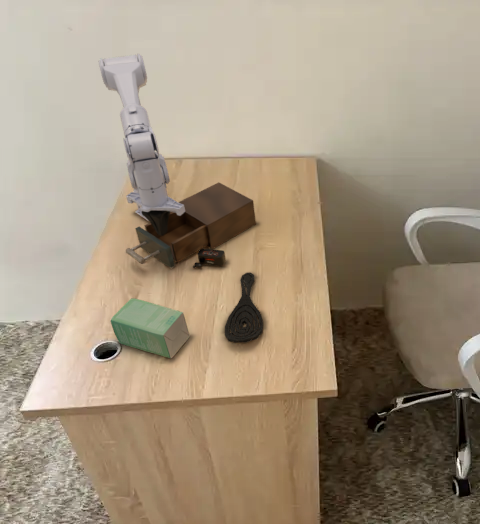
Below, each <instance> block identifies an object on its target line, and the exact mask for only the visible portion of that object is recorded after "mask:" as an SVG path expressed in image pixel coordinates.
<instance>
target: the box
mask: <svg viewBox="0 0 480 524" xmlns="http://www.w3.org/2000/svg"><path fill="white" fill-rule="evenodd" d="M110 325H111V327H112V330H113V333H114V335H115V338H116V340H117V341H118V343H119V344H121V345H124V346H127V347H131V348H133V349H137V350H141V351H145V352H147V353H151V354H154V355H158V356H161V357H164V358H168V359H173V358H174V357H175V356H176V354H177V353H178V352H179V351H180V350H181V348H182V347H183V346H184V345H185V343H186V342H187V341H188V339H190V332H189V328H188V325H187V321H186V318H185V314H184V311H180V310H176V309H174V308H173V309H172V308H170V307H167V306H163V305H160V304H156V303H153V302H149V301H147V300H142V299H138V298H134V297H133V298H130V299H128V301H127V302H126V303H125V304H124V305H123V306H122V307H121V308H120V309H119V310H117V311H116V313H115V314H114V315H113V316H112V317H111V318H110Z"/></svg>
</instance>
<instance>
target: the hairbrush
mask: <svg viewBox="0 0 480 524" xmlns="http://www.w3.org/2000/svg"><path fill="white" fill-rule="evenodd" d="M255 277H256V276H255V274H254V273H252V272H245V273H244V274H242V275H241V277H240V280H239V281H240V286H241V295H240V298H239V300H238V303H237V304H236V305H235V306H234V308H233V309H232V311H231V312H230V313H229V316H228V317H227V320H226V323H225V325H224V337H225V338H226V340H227V342H230V343H235V344H246V343H249V342H252V341H255V340H257V339H259V337H260V336H261V335H263V333H264V332H263V331H264V319H263V317H262V314H261V311H260V310H259V307H257V304H256V305H255V303H254V300H252V297H251V294H252V288H253V286H254V284H255V282H256V281H255V279H256V278H255ZM244 324H245V326H244Z"/></svg>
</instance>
